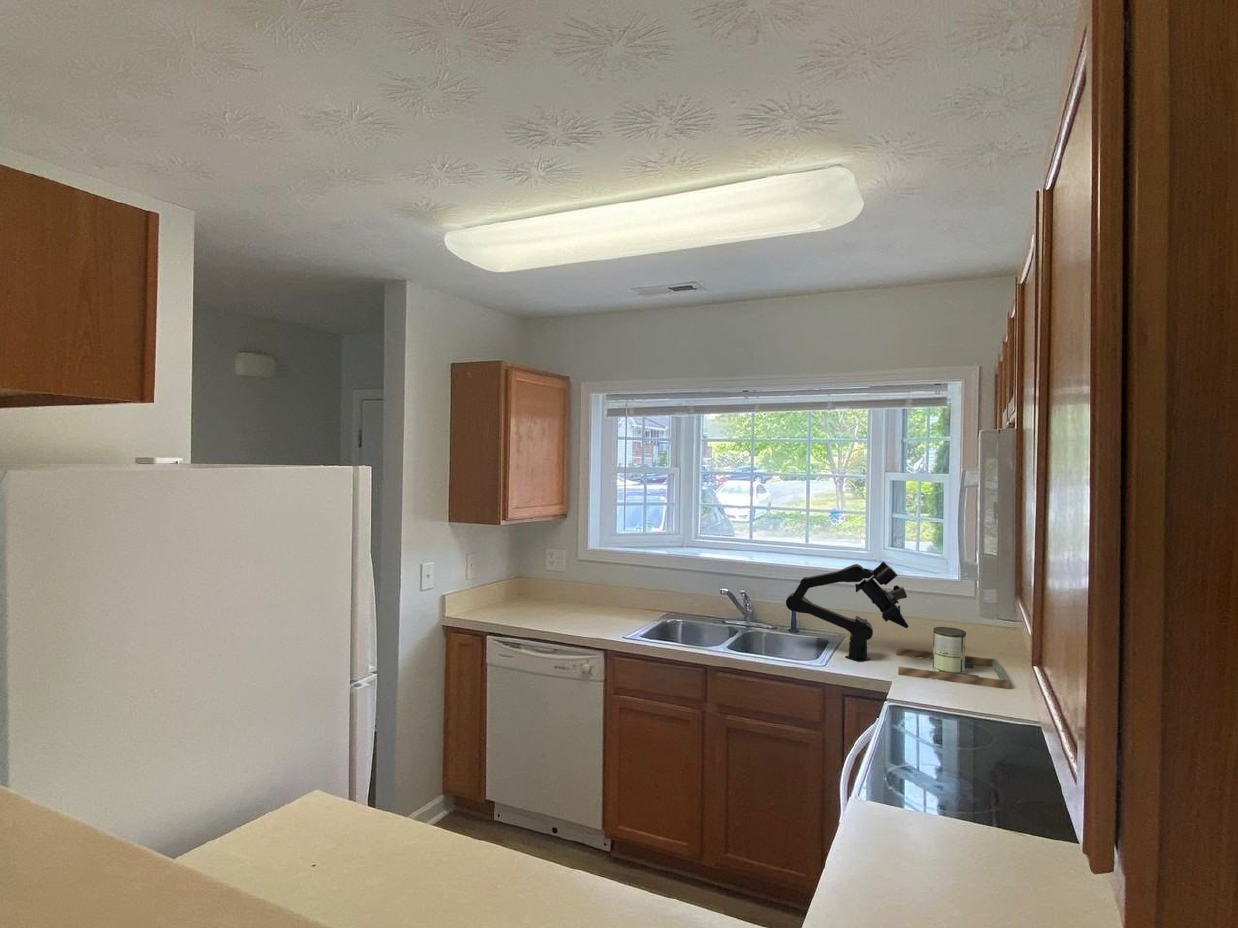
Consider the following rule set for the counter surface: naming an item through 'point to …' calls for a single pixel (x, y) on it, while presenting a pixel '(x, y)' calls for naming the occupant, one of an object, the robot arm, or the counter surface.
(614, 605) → the counter surface
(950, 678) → the brown wooden frame
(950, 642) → the coffee can
